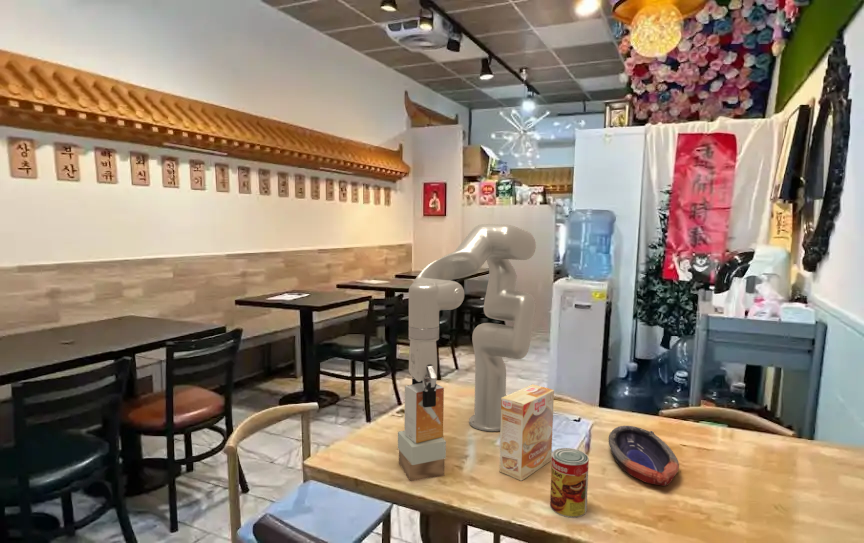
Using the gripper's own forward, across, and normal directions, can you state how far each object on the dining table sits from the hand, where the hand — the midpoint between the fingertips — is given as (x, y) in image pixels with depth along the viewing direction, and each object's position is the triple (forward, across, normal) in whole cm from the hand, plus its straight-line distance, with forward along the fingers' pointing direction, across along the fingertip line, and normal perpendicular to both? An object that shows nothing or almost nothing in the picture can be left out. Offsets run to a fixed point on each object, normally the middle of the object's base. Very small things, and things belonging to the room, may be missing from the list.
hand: (423, 399), depth 131 cm
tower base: (+19, 0, 0) cm, 19 cm away
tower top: (+14, 0, 0) cm, 14 cm away
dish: (+19, +13, +56) cm, 61 cm away
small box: (+10, 0, 0) cm, 10 cm away
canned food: (+18, +26, +26) cm, 41 cm away
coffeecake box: (+19, +6, +26) cm, 33 cm away
